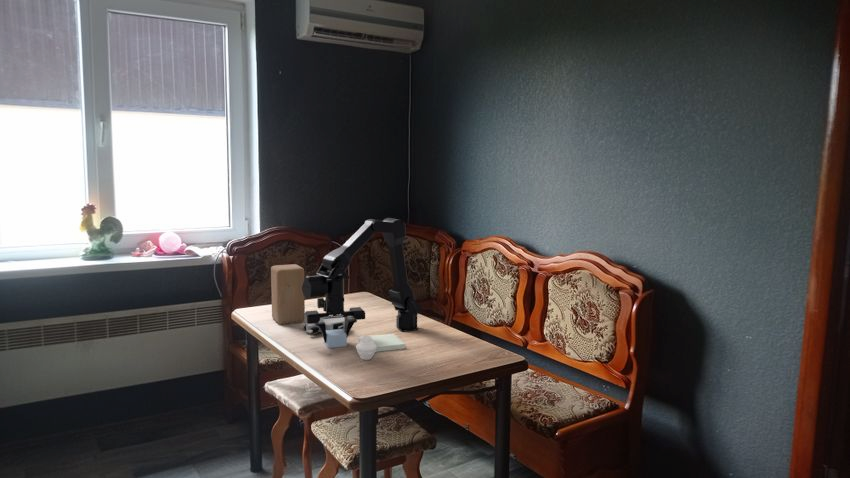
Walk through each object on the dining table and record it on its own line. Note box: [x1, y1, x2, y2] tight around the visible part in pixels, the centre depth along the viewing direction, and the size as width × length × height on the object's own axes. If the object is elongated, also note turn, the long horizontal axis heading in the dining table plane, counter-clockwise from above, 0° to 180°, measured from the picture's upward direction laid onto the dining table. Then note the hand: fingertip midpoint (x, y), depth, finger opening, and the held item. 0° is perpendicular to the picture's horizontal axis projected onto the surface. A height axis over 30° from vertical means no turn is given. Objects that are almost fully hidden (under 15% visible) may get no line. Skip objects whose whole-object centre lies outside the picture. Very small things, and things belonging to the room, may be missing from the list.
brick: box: [323, 329, 348, 349], centre depth 202 cm, size 6×6×4 cm
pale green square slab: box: [358, 333, 406, 353], centre depth 202 cm, size 12×12×2 cm
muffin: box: [355, 335, 377, 361], centre depth 189 cm, size 6×6×7 cm
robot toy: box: [300, 315, 345, 335], centre depth 217 cm, size 12×4×15 cm
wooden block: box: [270, 263, 306, 325], centre depth 229 cm, size 10×10×20 cm
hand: (335, 341), depth 202 cm, fingers closed on brick, 6 cm apart
